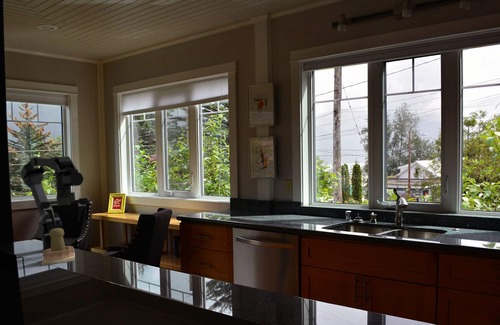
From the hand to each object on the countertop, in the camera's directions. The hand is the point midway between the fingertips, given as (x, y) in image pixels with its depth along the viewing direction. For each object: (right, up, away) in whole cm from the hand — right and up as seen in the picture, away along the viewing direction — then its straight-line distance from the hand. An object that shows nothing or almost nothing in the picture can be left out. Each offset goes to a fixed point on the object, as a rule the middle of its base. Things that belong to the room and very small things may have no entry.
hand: (66, 223), depth 178 cm
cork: (+3, -11, -14) cm, 18 cm away
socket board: (+3, -12, -14) cm, 19 cm away
